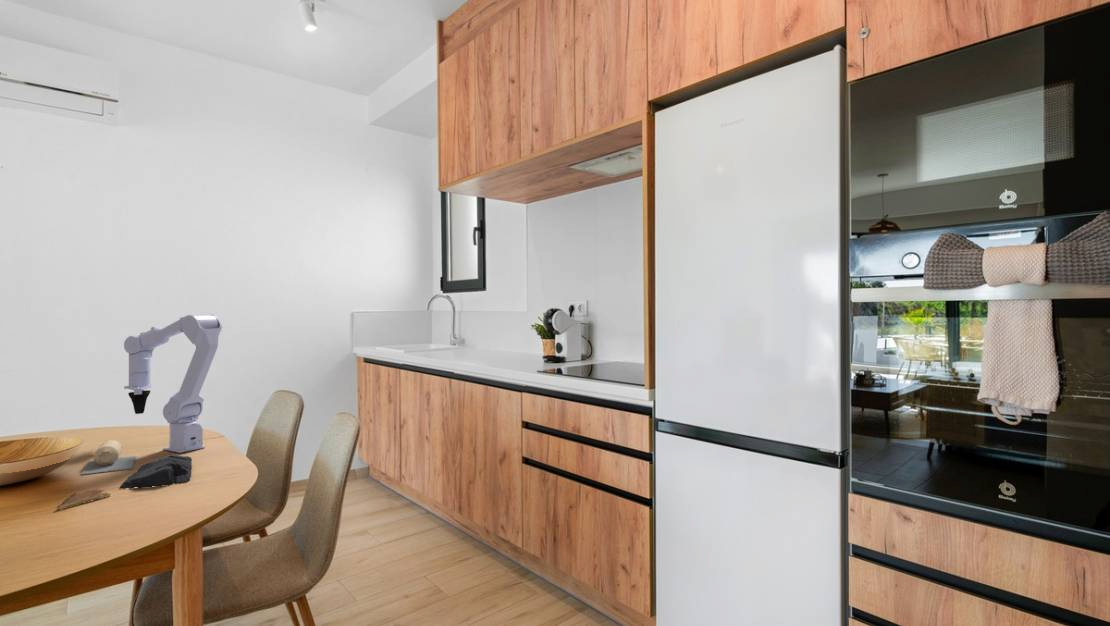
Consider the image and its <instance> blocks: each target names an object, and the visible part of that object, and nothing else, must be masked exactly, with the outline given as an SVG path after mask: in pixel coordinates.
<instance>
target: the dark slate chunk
mask: <svg viewBox="0 0 1110 626" xmlns="http://www.w3.org/2000/svg"><path fill="white" fill-rule="evenodd" d="M192 461H193V459H192V457H190V456H188V455H184V456H183V455H174V454H171V455H167V456H163V457H161V458H158V459H156V460H154V461H150V462H148V463H145V464H143V465H141V466H140V467H139V468H138V469H137V470H138V471H137V470H136V471H137V472H136V471H135V472H134V473H132V474H131V475H130V476H128V477H127V478H126V479H125V480H124V482H122V483H121V484H120V487H119V488H134V487H151V488H153V487H152V486H160V487H163V486H162V485H168V486H170V485H169V484H173V483H175V484H173V485H178V484H177V483H179V484H183V483H182V482H185V483H188V482H190V481H191V478H192V470H193V465H192ZM187 481H188V482H187Z"/></svg>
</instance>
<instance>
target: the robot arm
mask: <svg viewBox="0 0 1110 626" xmlns="http://www.w3.org/2000/svg"><path fill="white" fill-rule="evenodd" d="M222 328H223V325H222V323H221V321H220V319H219V317H218V316H217V315H215V314H208V315H207V314H204V315H203V314H202V315H199V314H198V315H197V314H196V315H192V314H188V315H185V316H182V317H179V319H178V320H176V321H173V322H172V323H170V324H168V325H166V326H165V327H162V326H151V327H150V330H147V331H143V332H140V333H139V335H135V336H134V335H129V336H128V337H127V338H125V340H124V342H123V347H124V350H125V352H126V353H128V385H124V390H126V389H127V390H131V391H129V392H128V397H129V398H130V400H131V403H132V405H133V410H134V414H135V415H140V414H144V412H145V410H146V409H145V408H146V404H147V399H148V397H149V395H150V393H151V390H147V389H151V388H152V384H151V358H152V357H153V352H154V350H155V348H158V347H160V346H162V345H164V344H166V343H168V342H169V340H170V338H171V337H175V336H176V335H179V334H182V333H183V334H184V336H186V338H187V339H188V340H189V342H190V343H192V345H194V346H195V350H194V352H193V354H192V358H191V360H190V362H189V366H188V368H187V370H186V373H185V376H184V378H183V381H182V382H181V386H180V388H179V390H178V392H176V393H175V394H173V395H172V396H171V397H170V398H169V400H168V401H167V403H166V404H165V405H164V406H163V408H162V416H163V417H164V419H165V421H166V422H167V424H169V445H168V446H164V447H162V450H166V451H169V452H175V453H178V454H179V453H180V454H182V453H186V452H190V451H194V450H199V449H204V448H206V445H204V444H203V443H204V442H203V440H204V439H203V438H204V437H203V433H204V432H203V427H202V425H201V424H200V423H198V422H197V420H199V417H200V416H201V414H202V412H203V404H204V400H205V398H204V397H203V396H202V395H201V394H200V393H201V391H202V388H203V386H204V383H205V380H206V377H207V375H208V373H209V370H210V368H211V365H212V362H213V360H214V358H215V355H216V352H217V350H218V347H219V336H220V334H221V332H222Z"/></svg>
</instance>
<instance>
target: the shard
mask: <svg viewBox="0 0 1110 626" xmlns="http://www.w3.org/2000/svg"><path fill="white" fill-rule="evenodd" d="M110 495H112V494H111V492H109V491H108V490H106V489H104V488H103V489H102V488H98V487H93V488H91V489H87V490H83V491H79V492H75V493H72V494H71V495H69V496H68V497H67V498H66V499H64V500H63V501H62V502H61V503H60V504H59V505H58V506H56V509H58V510H60V511H62V510H61V509H64V510H66V509H65V508H67V509H69V508H68V507H70V508H72V507H71V506H74V505H77V504H80V505H82V504H81V503H84V502H87V503H89V502H88V501H91V500H95V499H99V498H102V497H106V496H110ZM110 497H111V496H110ZM106 498H107V497H106ZM102 499H103V498H102ZM99 500H100V499H99ZM95 501H96V500H95ZM91 502H92V501H91ZM84 504H85V503H84ZM77 506H78V505H77ZM74 507H75V506H74Z"/></svg>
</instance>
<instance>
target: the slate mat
mask: <svg viewBox="0 0 1110 626" xmlns="http://www.w3.org/2000/svg"><path fill="white" fill-rule="evenodd" d="M136 458H137V455H134V456H125V457H118V458H117V460H116V461H115V462H114V463H112V464H110V465H105V466H103V465H99V464H97V463H96V462H95V460H89V461H88V462H87V464H86V466H85V467H84V469H83V470H82V472H81V473H80V476H86V475H85V474H89V475H94V474H93V473H97V474H101V473H100V472H105V473H110V472H109V471H113V472H119V471H118V470H121V471H126V470H125V469H129V470H132V469H133V466H134V464H135V462H136ZM134 461H135V462H134Z"/></svg>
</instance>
